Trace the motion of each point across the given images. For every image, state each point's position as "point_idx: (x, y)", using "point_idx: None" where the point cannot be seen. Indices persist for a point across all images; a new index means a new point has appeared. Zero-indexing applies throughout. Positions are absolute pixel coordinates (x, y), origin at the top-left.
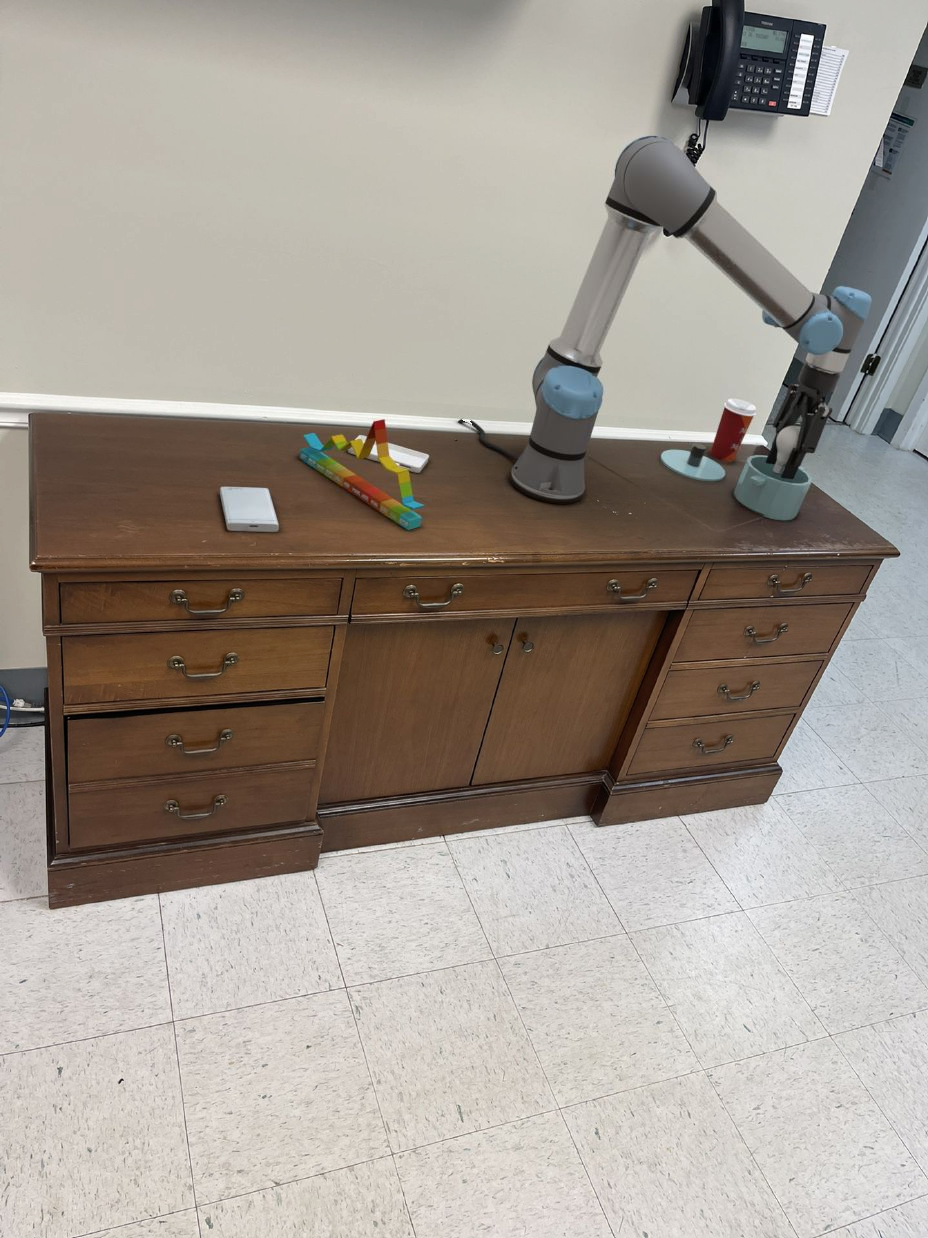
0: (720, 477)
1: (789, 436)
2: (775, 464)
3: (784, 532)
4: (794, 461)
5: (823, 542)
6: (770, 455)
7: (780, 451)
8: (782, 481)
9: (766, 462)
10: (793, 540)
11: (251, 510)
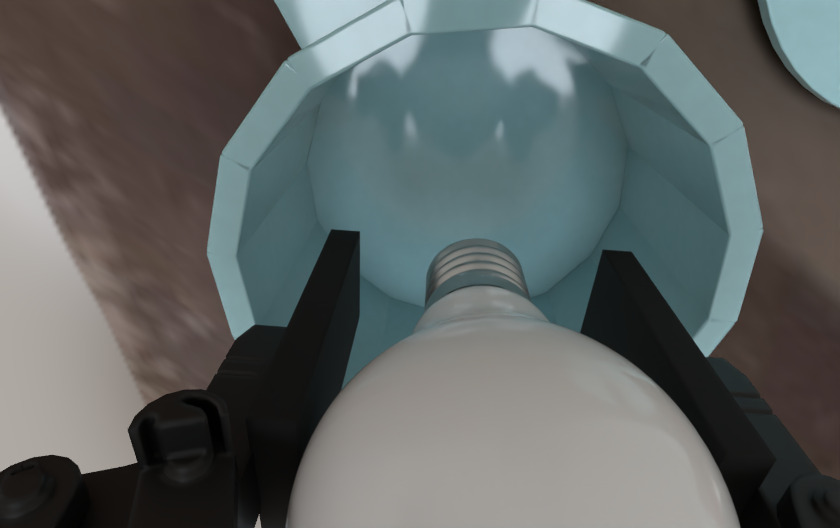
0: (776, 9)
1: (380, 517)
2: (498, 266)
3: (154, 108)
4: (256, 352)
5: (122, 271)
6: (623, 289)
7: (462, 315)
8: (238, 176)
9: (615, 252)
10: (75, 111)
11: None
